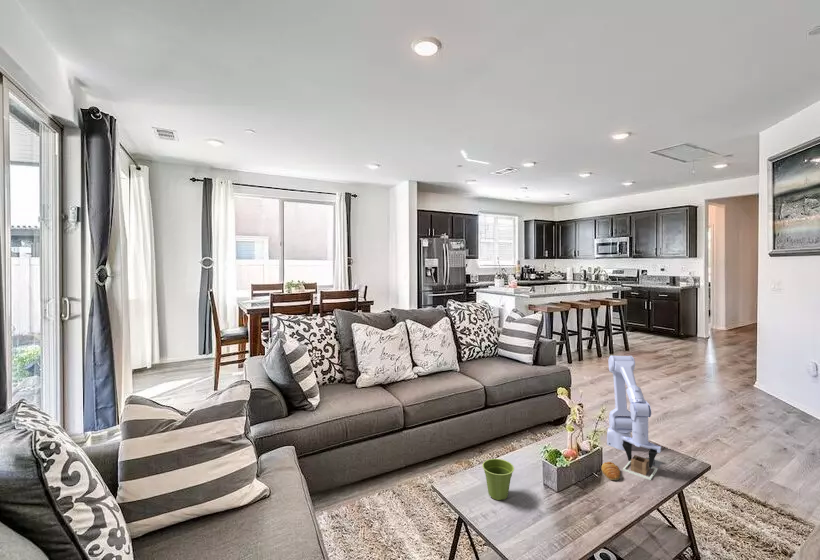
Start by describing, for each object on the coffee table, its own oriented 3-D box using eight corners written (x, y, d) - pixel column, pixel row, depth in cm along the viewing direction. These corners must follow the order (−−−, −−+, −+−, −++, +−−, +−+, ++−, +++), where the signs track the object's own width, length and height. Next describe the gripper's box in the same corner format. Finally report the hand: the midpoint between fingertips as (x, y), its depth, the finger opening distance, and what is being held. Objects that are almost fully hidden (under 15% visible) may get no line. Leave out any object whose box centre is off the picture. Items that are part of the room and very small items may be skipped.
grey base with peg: (642, 464, 165) (642, 453, 164) (646, 459, 169) (646, 448, 169) (658, 469, 160) (658, 458, 160) (662, 464, 164) (662, 453, 164)
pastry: (624, 483, 152) (624, 473, 152) (605, 481, 154) (605, 472, 153) (617, 470, 161) (617, 461, 161) (599, 468, 163) (599, 460, 163)
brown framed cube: (634, 466, 162) (634, 454, 162) (649, 471, 159) (649, 459, 158) (630, 471, 159) (630, 459, 159) (645, 476, 155) (645, 464, 155)
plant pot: (515, 506, 139) (515, 476, 138) (482, 502, 141) (482, 473, 141) (513, 487, 151) (513, 459, 150) (482, 484, 153) (482, 457, 152)
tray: (622, 472, 159) (622, 469, 159) (630, 463, 166) (630, 459, 166) (650, 482, 151) (650, 478, 151) (657, 472, 159) (657, 468, 158)
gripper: (617, 429, 160) (617, 460, 161) (657, 440, 150) (657, 473, 151) (623, 424, 165) (623, 454, 166) (662, 434, 155) (662, 466, 155)
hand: (640, 463), depth 159 cm, fingers open, 7 cm apart
